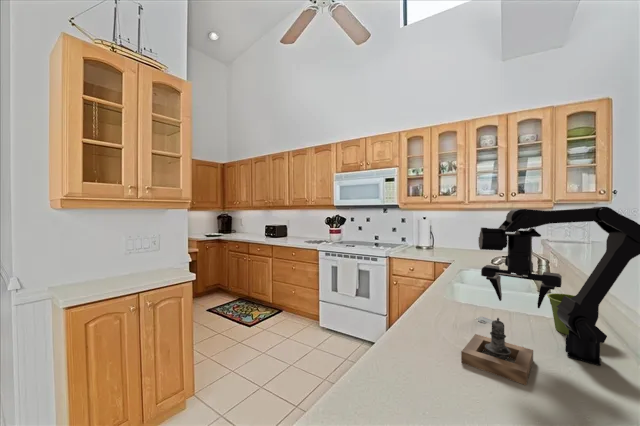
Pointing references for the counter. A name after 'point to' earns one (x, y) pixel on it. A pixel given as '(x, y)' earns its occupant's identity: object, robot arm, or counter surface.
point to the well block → (498, 360)
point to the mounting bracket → (484, 320)
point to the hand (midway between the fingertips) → (518, 304)
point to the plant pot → (555, 301)
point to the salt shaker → (498, 341)
